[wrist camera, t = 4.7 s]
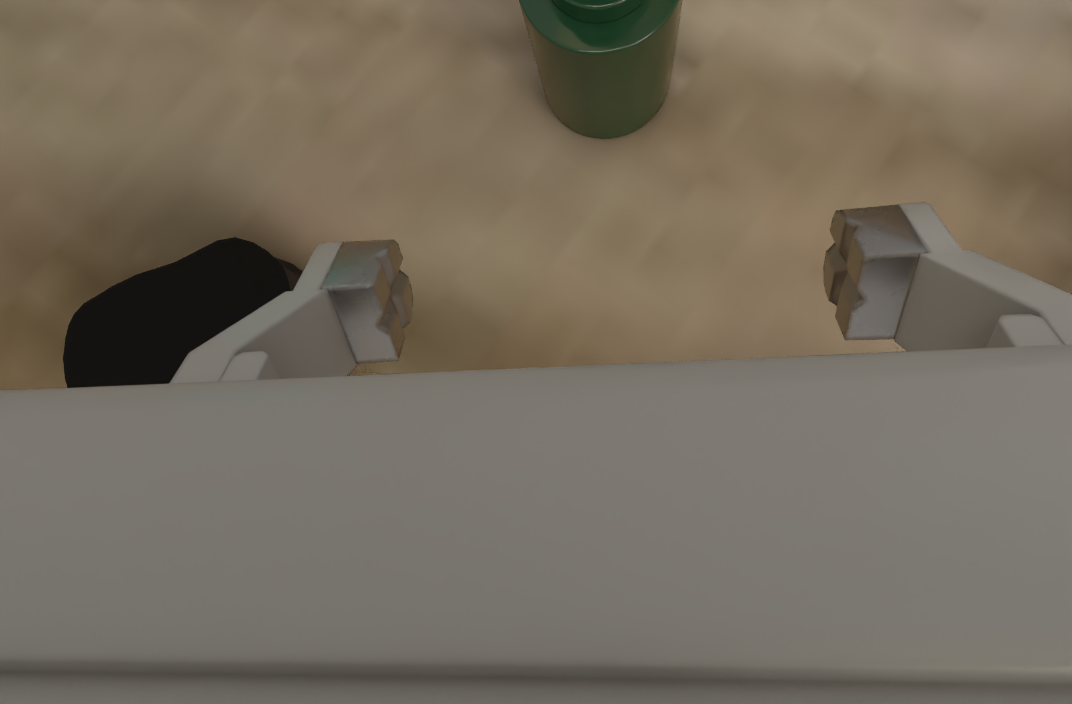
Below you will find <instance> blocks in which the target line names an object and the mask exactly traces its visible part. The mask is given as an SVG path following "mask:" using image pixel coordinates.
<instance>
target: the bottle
mask: <svg viewBox="0 0 1072 704" xmlns="http://www.w3.org/2000/svg"><path fill="white" fill-rule="evenodd" d="M682 1H683V0H519V2H520V6H521V10H522V13H523V17H524V21H525V24H526V28H527V31H528V35H529V39H530V42H531V46H532V50H533V53H534V57H535V60H536V64H537V68H538V71H539V75H540V78H541V82H542V86H543V89H544V93H545V97H546V99H547V102H548V104H549V106H550V108H551V110H552V112H553V113H554V114H555V116H556V117H557V118H558V119H559V120H560V121H561V122H562V123H563V124H564V125H565V126H567V127H568V128H569V129H571V130H573V131H575V132H576V133H579V134H581V135H584V136H588V137H592V138H600V139H604V138H615V137H620V136H623V135H627V134H629V133H631V132H634V131H635V130H637V129H639V128H641V127H642V126H643V125H645V124H646V123H647V122H649V121H650V120H651V119H652V118H653V117H654V116H655V114H656V113H657V112H658V110H659V109H660V108H661V106H662V104H663V103H664V101H665V98H666V96H667V93H668V90H669V87H670V80H671V74H672V67H673V61H674V54H675V47H676V41H677V34H678V28H679V21H680V14H681V8H682Z"/></svg>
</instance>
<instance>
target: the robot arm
mask: <svg viewBox="0 0 1072 704" xmlns="http://www.w3.org/2000/svg"><path fill="white" fill-rule="evenodd" d="M830 232H831V235H832V237H833V239H834V241H835V243H834V244H833V245H832V246H831V247H830V248H829V249H828V250H827V251H826V254H825V261H824V267H823V273H824V286H825V292H826V294H827V297H828V300H829V301H830V302H832V303H833V304H835V305H837V310H836V315H835V317H836V320H837V322H838V325H839V327H840V329H841V332H842V334H843V337H844V339H845V340H879V339H895V342H896V343H898V344H899V345H900V346H902V347H903V348H904V349H905V350H907V352H884V353H861V354H838V355H816V356H793V357H770V358H747V359H724V360H701V361H678V362H655V363H632V364H609V365H586V366H563V367H540V368H517V369H494V370H471V371H448V372H425V373H402V374H379V375H356V376H347V375H348V374H349V373H350V372H351V371H352V370H353V369H354V368H355V367H356V366H357V365H356V364H359V363H373V362H386V361H398V360H399V357H400V354H401V350H402V347H403V344H404V341H405V335H404V332H403V328H404V327H405V326H407V325H408V324H409V323H410V321H411V317H412V313H413V295H412V288H411V284H410V281H409V277H408V276H407V275H405V274H404V273H403V272H402V271H401V270H400V266H401V263H402V260H403V257H402V254H401V251H400V248H399V245H398V243H397V242H396V241H395V240H373V241H352V242H333V243H322V244H319V245H317V246H316V248H315V250H314V252H313V254H312V255H311V257H310V259H309V261H308V263H307V265H306V267H305V269H304V271H303V272H302V274H301V276H300V278H299V280H298V282H297V284H296V286H295V288H294V290H293V291H286V292H284V293H282V294H281V295H279V296H278V297H276V298H274V299H273V300H271V301H270V302H268V303H267V304H265V305H263V306H262V307H260V308H259V309H257V310H256V311H254V312H252V313H251V314H249V315H248V316H246V317H245V318H243V319H241V320H240V321H238V322H237V323H235V324H234V325H232V326H230V327H229V328H227V329H226V330H224V331H223V332H221V333H219V334H218V335H216V336H215V337H213V338H211V339H210V340H208V341H207V342H205V343H204V344H202V345H200V346H199V347H197V348H196V349H194V350H193V351H191V352H189V353H188V355H187V356H186V358H185V360H184V361H183V363H182V364H181V366H180V367H179V369H178V371H177V372H176V374H175V375H174V377H173V378H172V380H171V381H170V383H169V384H148V385H125V386H102V387H79V388H55V389H32V390H0V704H1072V294H1070V293H1067V292H1065V291H1063V290H1060V289H1058V288H1056V287H1054V286H1051V285H1049V284H1047V283H1045V282H1042V281H1040V280H1038V279H1035V278H1033V277H1031V276H1029V275H1026V274H1024V273H1022V272H1020V271H1017V270H1015V269H1013V268H1011V267H1008V266H1006V265H1004V264H1001V263H999V262H997V261H995V260H992V259H990V258H988V257H986V256H983V255H981V254H979V253H976V252H974V251H963V250H962V249H961V247H960V246H959V245H958V243H957V242H956V240H955V239H954V238H953V236H952V235H951V233H950V232H949V230H948V229H947V228H946V226H945V225H944V223H943V222H942V220H941V219H940V218H939V216H938V215H937V213H936V212H935V210H934V209H933V208H932V206H931V205H930V204H929V203H926V202H917V203H908V204H898V205H889V206H878V207H867V208H856V209H845V210H836V211H835V214H834V216H833V218H832V223H831V228H830Z"/></svg>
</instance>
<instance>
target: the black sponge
mask: <svg viewBox="0 0 1072 704" xmlns="http://www.w3.org/2000/svg"><path fill="white" fill-rule="evenodd" d="M301 274H302V271H301V270H299V269H298V268H297V267H296V266H294V265H293V264H291V263H288V262H286V261H283V260H280V259H277V258H275V257H273V256H272V255H271V254H270V253H269V252H268V251H266V250H265V249H263V248H261V247H260V246H258V245H256V244H255V243H253V242H250V241H246V240H243V239H239V238H236V237H234V238H228V239H223V240H217V241H216V242H214V243H212V244H210V245H208V246H206V247H204V248H202V249H200V250H198V251H196V252H194V253H192V254H190V255H188V256H186V257H184V258H182V259H180V260H178V261H177V262H174V263H171V264H168V265H165V266H162V267H159V268H156V269H153V270H150V271H146V272H143V273H140V274H137V275H135V276H133V277H131V278H128V279H126V280H124V281H122V282H120V283H118V284H116V285H114V286H112V287H110V288H109V289H107V290H105V291H104V292H102V293H100V294H99V295H97V296H95V297H94V298H92V299H90V300H89V301H87V302H86V303H84V304H83V305H82V306H81V307H80V308H79V309H78V310H77V311H76V312H75V314H74V315H73V317H72V319H71V321H70V323H69V326H68V330H67V334H66V338H65V347H64V355H63V362H64V373H65V380H66V383H67V387H68V388H79V387H102V386H125V385H148V384H169V383H170V381H171V380H172V378H173V377H174V375H175V374H176V372H177V371H178V369H179V367H180V366H181V364H182V363H183V361H184V360H185V358H186V356H187V355H188V353H189V352H191V351H193V350H194V349H196V348H197V347H199V346H200V345H202V344H204V343H205V342H207V341H208V340H210V339H211V338H213V337H215V336H216V335H218V334H219V333H221V332H223V331H224V330H226V329H227V328H229V327H230V326H232V325H234V324H235V323H237V322H238V321H240V320H241V319H243V318H245V317H246V316H248V315H249V314H251V313H252V312H254V311H256V310H257V309H259V308H260V307H262V306H263V305H265V304H267V303H268V302H270V301H271V300H273V299H274V298H276V297H278V296H279V295H281V294H282V293H284V292H286V291H293V290H294V288H295V286H296V284H297V282H298V280H299V278H300V276H301Z"/></svg>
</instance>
